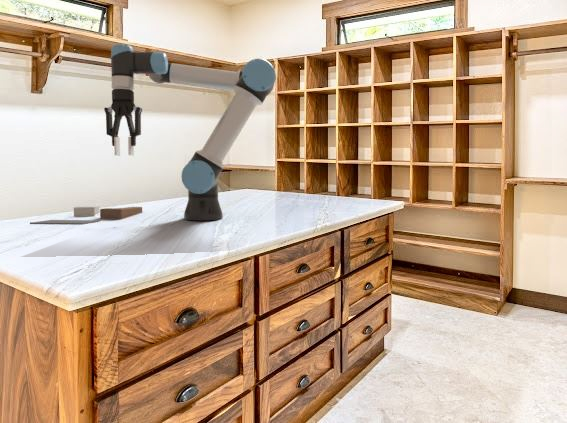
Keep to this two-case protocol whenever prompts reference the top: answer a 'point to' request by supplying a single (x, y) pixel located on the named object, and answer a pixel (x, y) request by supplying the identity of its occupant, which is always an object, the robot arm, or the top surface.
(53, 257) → the top surface
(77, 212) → the smooth beige box
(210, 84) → the robot arm
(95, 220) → the charcoal mat
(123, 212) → the wooden block
